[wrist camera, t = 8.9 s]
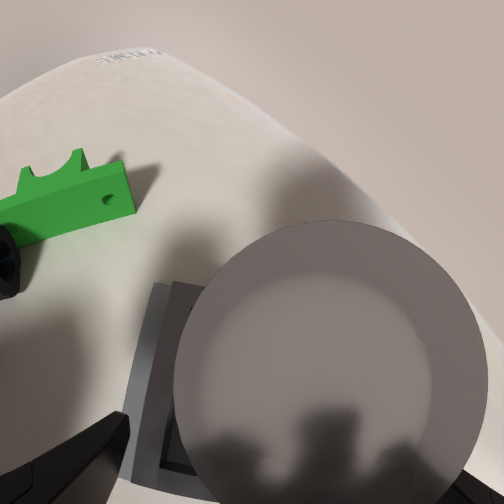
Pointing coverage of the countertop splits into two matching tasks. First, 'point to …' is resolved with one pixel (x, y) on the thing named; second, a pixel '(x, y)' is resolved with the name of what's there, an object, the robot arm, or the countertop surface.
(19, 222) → the pipe clamp
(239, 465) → the silver metal tumbler
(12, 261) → the pipe connector
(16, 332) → the countertop surface
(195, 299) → the iron collar
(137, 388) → the grey flat square frame
